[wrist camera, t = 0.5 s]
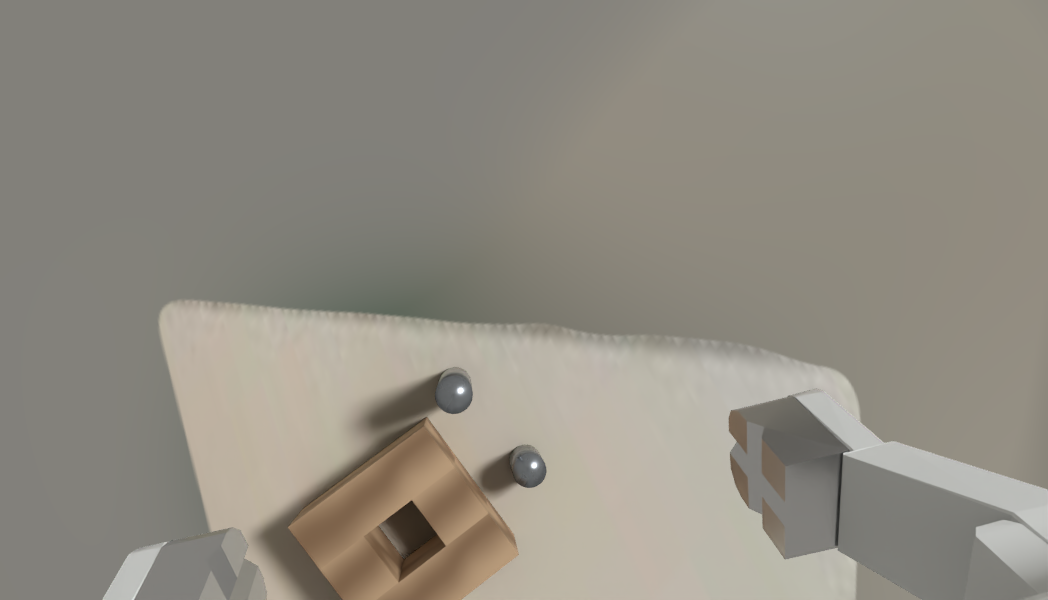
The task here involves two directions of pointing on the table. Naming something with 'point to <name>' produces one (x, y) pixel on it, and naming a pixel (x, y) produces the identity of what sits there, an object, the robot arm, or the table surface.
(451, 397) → the tall pin
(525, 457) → the short pin
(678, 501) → the table surface
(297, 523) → the hole block
